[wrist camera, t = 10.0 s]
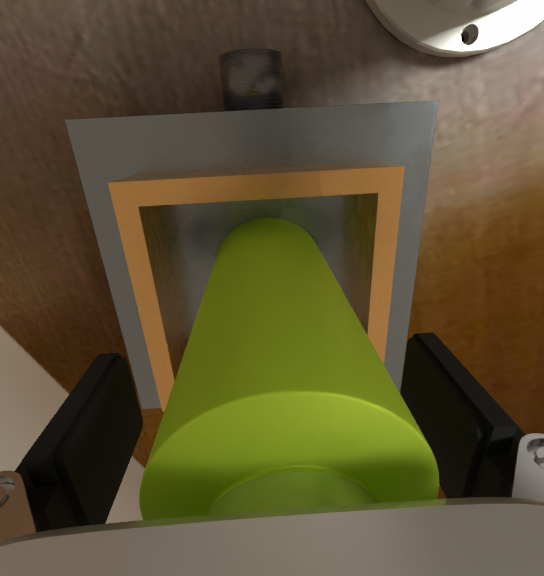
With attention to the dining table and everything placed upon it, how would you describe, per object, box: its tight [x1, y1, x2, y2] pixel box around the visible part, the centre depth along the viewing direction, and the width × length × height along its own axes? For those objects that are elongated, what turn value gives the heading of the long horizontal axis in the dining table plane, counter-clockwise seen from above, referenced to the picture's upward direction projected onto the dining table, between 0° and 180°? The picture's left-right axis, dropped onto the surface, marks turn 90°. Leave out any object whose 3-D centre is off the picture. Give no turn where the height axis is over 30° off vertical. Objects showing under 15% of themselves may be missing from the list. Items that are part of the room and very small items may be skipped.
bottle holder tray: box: [65, 49, 439, 411], centre depth 19 cm, size 19×17×7 cm
